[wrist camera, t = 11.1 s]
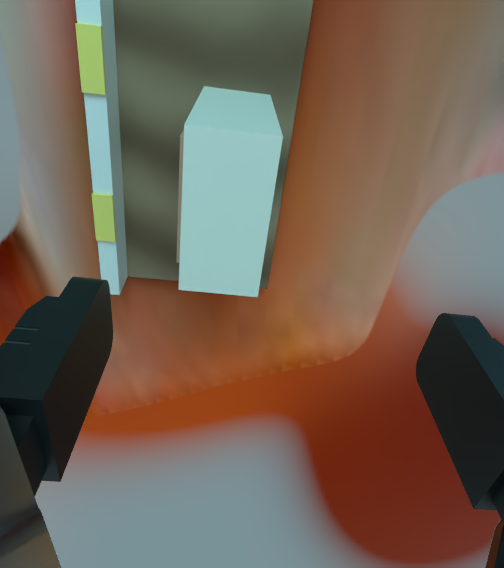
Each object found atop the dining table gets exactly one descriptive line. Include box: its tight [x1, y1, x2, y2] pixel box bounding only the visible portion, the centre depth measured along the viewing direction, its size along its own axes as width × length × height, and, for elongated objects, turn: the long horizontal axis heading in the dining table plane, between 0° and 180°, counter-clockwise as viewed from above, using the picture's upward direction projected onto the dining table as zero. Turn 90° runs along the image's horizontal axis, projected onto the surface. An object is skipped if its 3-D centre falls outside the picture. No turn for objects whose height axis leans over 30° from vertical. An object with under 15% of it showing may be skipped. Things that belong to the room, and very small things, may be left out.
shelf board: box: [113, 0, 313, 289], centre depth 28 cm, size 20×12×1 cm, turn 173°
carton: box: [176, 86, 283, 297], centre depth 23 cm, size 4×8×10 cm, turn 173°
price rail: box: [75, 0, 128, 295], centre depth 26 cm, size 20×1×3 cm, turn 173°
